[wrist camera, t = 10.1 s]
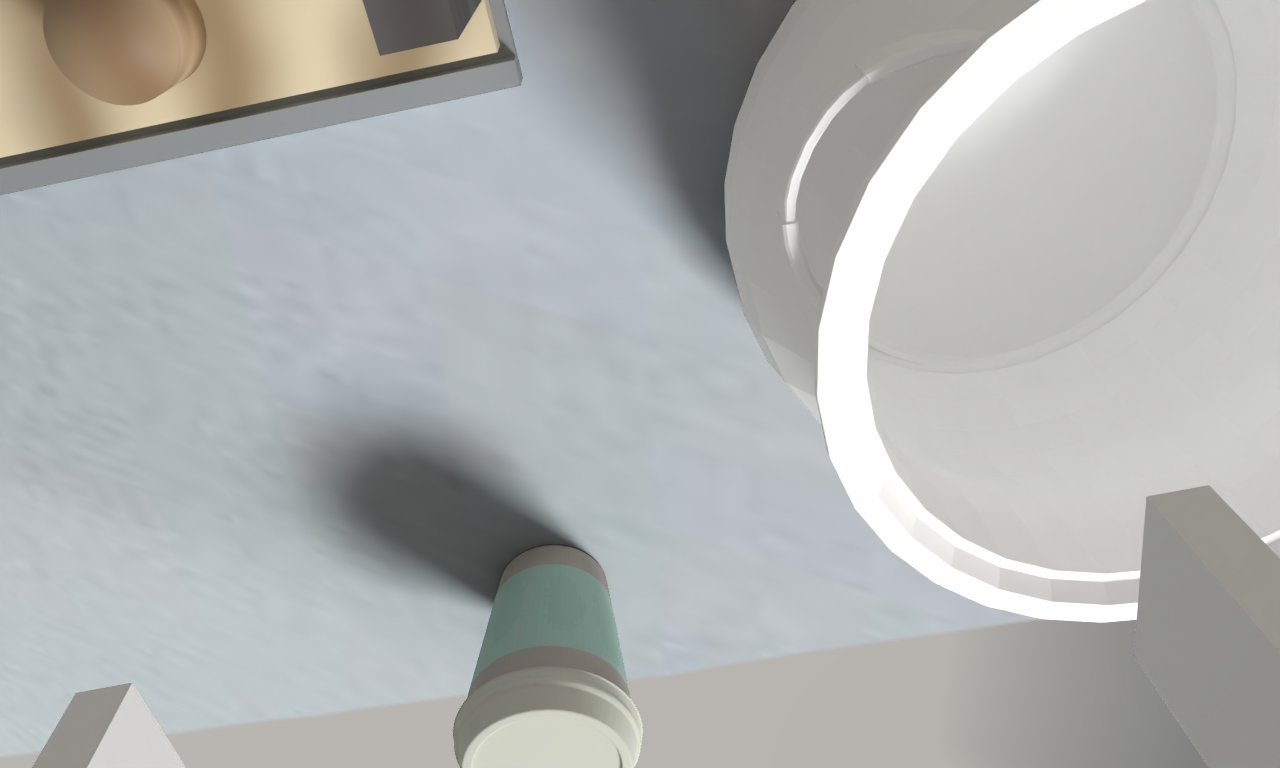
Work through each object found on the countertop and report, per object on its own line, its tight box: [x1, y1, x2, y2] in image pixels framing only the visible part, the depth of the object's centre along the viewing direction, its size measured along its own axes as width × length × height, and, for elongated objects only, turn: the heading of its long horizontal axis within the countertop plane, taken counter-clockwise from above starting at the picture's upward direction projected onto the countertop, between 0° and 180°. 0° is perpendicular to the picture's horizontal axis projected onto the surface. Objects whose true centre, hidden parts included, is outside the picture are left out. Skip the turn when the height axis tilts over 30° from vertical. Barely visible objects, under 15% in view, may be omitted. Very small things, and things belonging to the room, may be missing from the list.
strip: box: [0, 0, 500, 158], centre depth 33 cm, size 21×7×10 cm, turn 101°
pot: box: [724, 0, 1280, 622], centre depth 35 cm, size 26×24×17 cm
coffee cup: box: [453, 545, 643, 768], centre depth 48 cm, size 8×8×12 cm
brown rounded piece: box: [43, 0, 207, 106], centre depth 35 cm, size 4×4×3 cm
